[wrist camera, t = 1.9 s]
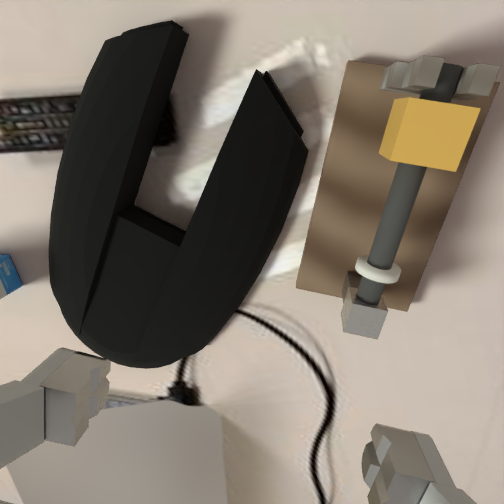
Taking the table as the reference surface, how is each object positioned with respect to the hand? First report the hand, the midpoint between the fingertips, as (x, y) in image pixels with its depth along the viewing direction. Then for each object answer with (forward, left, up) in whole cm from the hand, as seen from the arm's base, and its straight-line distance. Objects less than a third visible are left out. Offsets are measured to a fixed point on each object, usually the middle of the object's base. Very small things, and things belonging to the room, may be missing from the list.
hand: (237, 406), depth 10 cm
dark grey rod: (-3, +9, -22) cm, 23 cm away
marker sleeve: (-8, +9, -22) cm, 25 cm away
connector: (+7, +9, -25) cm, 28 cm away
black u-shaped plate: (+7, -14, -28) cm, 32 cm away
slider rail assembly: (-2, +9, -27) cm, 28 cm away
